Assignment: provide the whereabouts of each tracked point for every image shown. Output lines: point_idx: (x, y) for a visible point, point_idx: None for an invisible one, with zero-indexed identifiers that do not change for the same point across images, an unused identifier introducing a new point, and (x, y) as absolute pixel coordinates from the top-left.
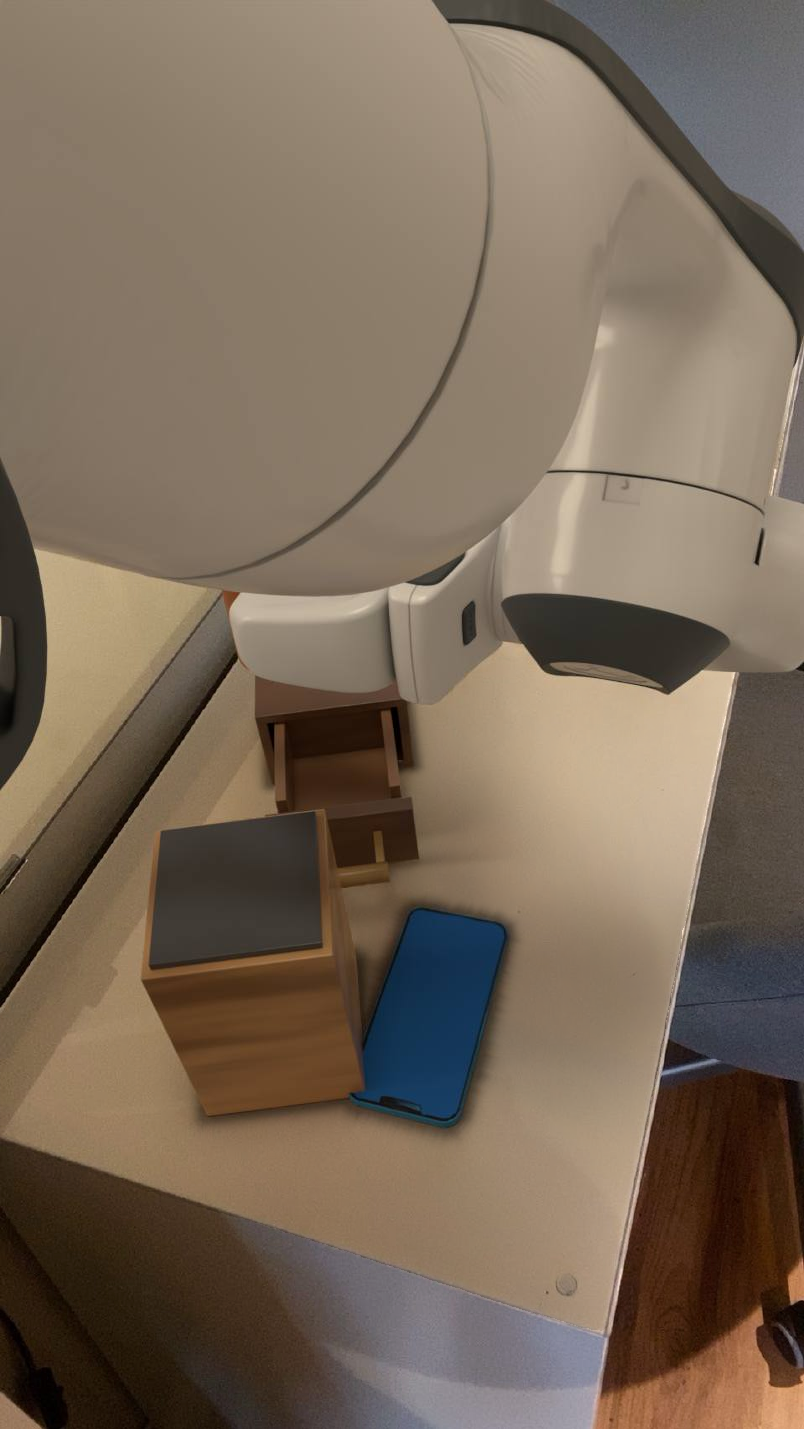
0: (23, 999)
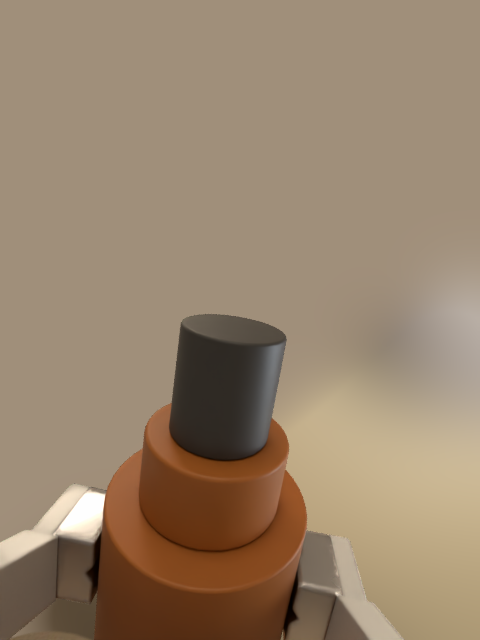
0: (35, 636)
